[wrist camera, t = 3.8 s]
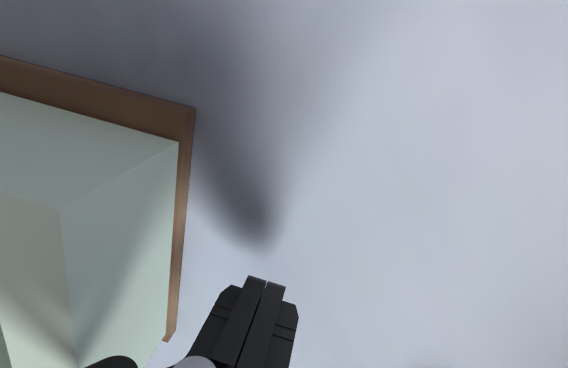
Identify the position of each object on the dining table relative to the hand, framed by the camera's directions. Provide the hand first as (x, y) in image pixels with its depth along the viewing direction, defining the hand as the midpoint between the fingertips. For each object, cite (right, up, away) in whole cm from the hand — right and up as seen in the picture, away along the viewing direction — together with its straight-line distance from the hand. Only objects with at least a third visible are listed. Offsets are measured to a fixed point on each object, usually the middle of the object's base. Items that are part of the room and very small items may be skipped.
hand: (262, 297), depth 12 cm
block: (-9, +3, +1) cm, 9 cm away
